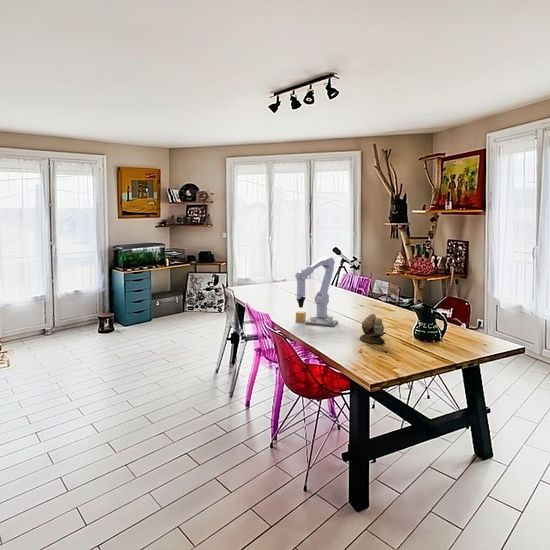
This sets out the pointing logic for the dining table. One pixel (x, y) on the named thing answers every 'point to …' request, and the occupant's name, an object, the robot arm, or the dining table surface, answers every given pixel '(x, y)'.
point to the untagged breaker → (330, 319)
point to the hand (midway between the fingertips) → (300, 307)
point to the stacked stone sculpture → (372, 330)
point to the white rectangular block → (313, 318)
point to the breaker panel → (321, 322)
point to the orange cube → (300, 316)
